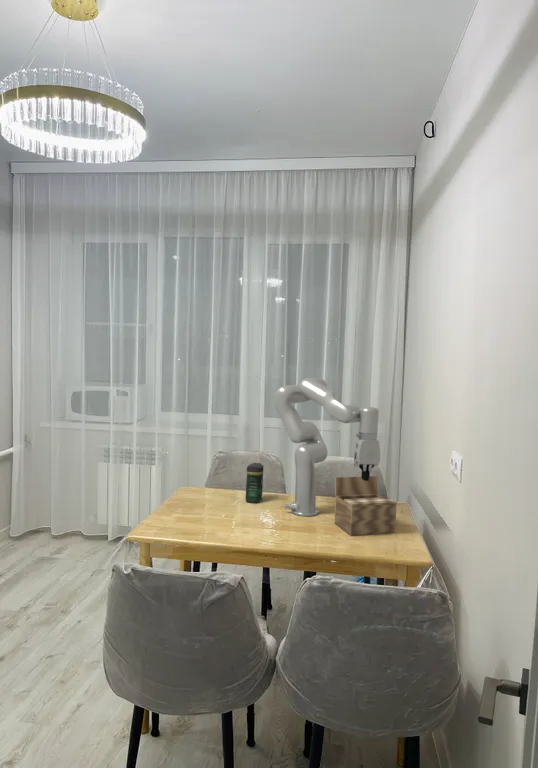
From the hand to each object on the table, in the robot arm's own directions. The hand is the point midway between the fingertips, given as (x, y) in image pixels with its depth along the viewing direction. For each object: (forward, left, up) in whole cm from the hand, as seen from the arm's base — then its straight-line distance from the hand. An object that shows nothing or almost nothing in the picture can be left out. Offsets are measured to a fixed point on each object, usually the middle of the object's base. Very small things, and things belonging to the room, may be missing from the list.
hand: (365, 479), depth 219 cm
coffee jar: (-35, +49, -21) cm, 63 cm away
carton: (0, 0, -21) cm, 20 cm away
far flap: (0, +8, -5) cm, 9 cm away
